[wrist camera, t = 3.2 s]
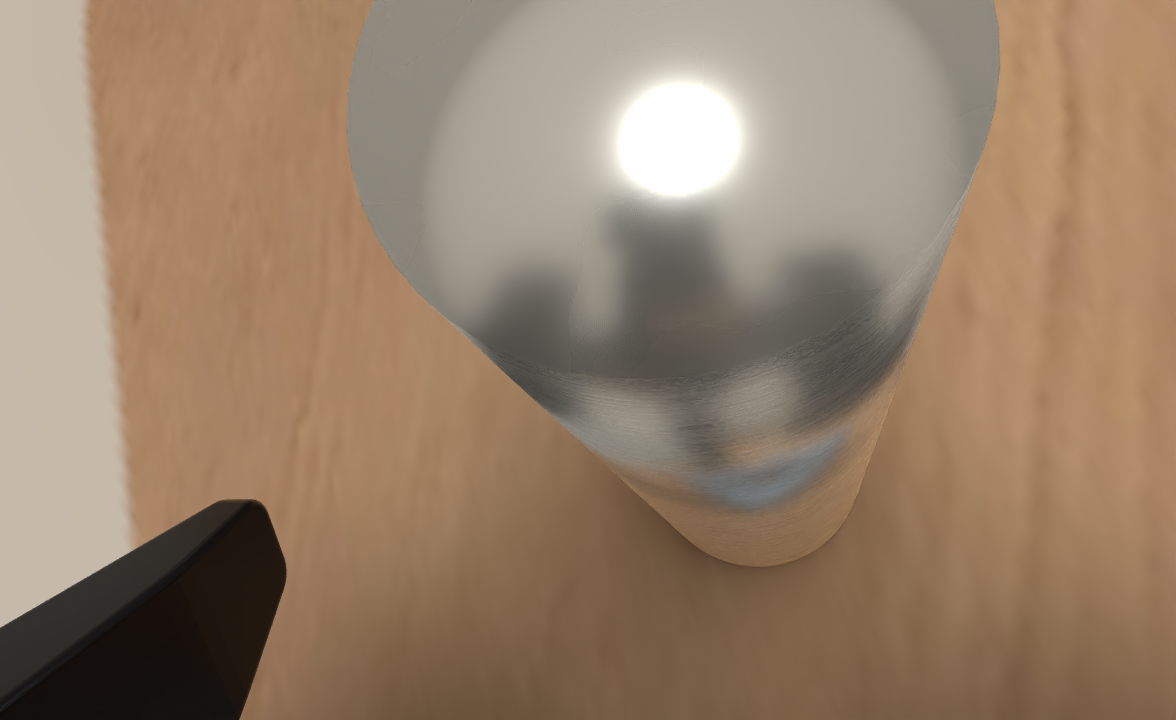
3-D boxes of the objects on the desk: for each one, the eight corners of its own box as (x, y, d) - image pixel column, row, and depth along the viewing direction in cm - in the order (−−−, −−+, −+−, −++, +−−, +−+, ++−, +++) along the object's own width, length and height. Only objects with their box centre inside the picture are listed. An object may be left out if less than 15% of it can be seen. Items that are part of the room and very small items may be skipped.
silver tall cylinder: (818, 600, 18) (861, 483, 5) (623, 519, 19) (245, 256, 6) (890, 404, 19) (1090, -147, 6) (697, 338, 20) (499, -245, 7)
